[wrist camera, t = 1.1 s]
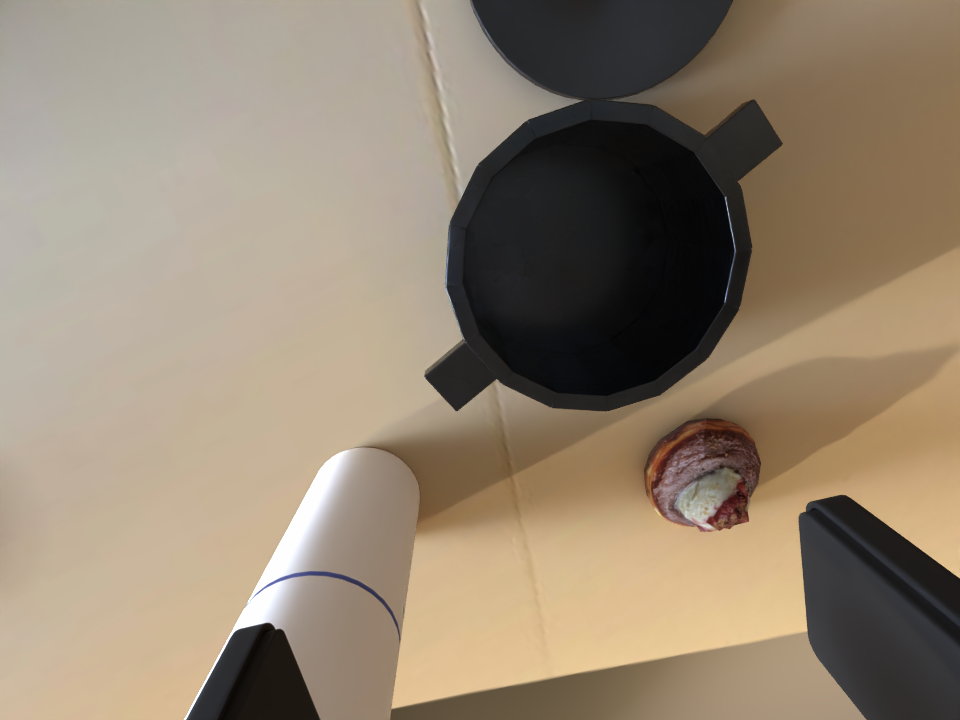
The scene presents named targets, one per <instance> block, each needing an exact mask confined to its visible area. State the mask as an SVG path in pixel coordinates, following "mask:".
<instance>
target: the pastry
mask: <svg viewBox="0 0 960 720" xmlns="http://www.w3.org/2000/svg"><path fill="white" fill-rule="evenodd" d="M760 466H761V462H760V458H759V455H758V452H757V449H756V446H755V443H754V441H753V439H752V438H751V437H750V435H749V434H748V432H747V431H745V430H744V429H743V428H741V427H740V426H738V425H737V424H734V423H731V422H728V421H724V420H721V419H701V420H694V421H688V422H686V423H684V424H683V425H681V426H680V427H679V428H677V429H676V430H674V431H673V432H671V433H670V434H668V435H667V436H665V437H664V438H662V439H661V440H660V441H659V442H658V443H657V445H656V446H655V447H654V449H653V450H652V451H651V453H650V455H649V458H648V461H647V464H646V467H645V470H644V472H645V486H646V492H647V496H648V498H649V499H650V501H651V503H652V505H653V507H654V509H655V511H656V513H657V515H659V516H661V517H663V518H664V519H666V520H668V521H669V522H671V523H673V524H675V525H680V526H692V527H694V526H697V527H698V528H699V530H700V532H706V531H715V530H719V531H720V530H722V529H723V528H726V529H730V528H731V527H733V526H734V525H737V524H741V523H745V522H749V517H748V507H749V504H750V497H751V495H752V494H753V492H754V490H755V488H756V486H757V485H758V480H759V473H760Z"/></svg>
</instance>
